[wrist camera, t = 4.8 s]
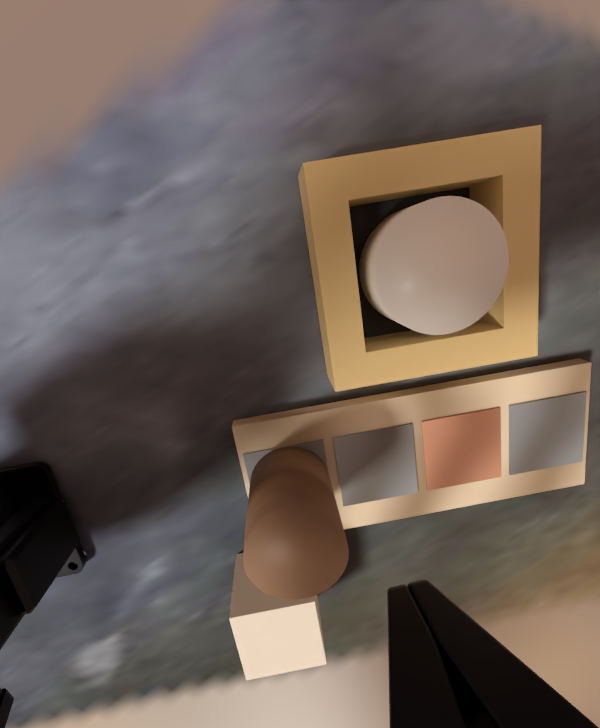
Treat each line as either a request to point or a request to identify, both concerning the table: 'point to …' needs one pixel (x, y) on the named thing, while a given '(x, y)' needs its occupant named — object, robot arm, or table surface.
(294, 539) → the brown capsule
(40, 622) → the table surface
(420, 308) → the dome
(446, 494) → the makeup compact
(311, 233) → the box
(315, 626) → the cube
